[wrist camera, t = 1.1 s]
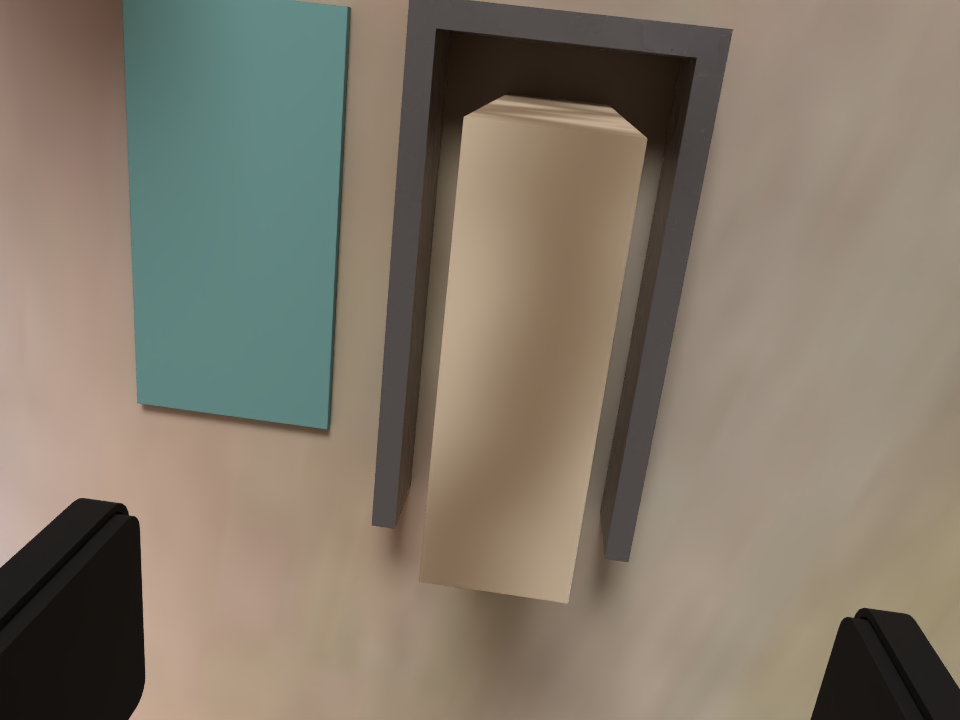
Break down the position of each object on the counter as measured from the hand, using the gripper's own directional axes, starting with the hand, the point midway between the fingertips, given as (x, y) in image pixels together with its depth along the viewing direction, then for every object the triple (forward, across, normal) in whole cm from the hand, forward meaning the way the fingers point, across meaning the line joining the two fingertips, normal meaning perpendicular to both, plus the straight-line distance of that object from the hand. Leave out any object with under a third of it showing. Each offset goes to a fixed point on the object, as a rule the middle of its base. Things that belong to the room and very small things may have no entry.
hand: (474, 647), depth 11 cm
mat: (+26, +13, 0) cm, 29 cm away
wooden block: (+26, 0, 0) cm, 26 cm away
